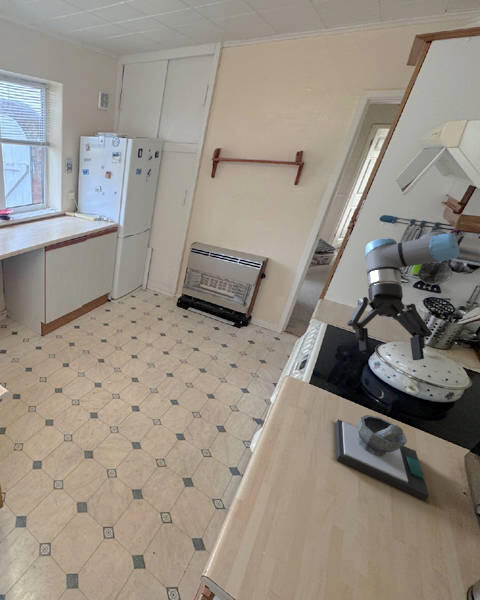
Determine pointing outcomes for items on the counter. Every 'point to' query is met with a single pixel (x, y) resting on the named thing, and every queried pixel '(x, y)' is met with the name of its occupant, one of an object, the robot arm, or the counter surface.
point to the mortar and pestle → (379, 435)
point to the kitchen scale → (381, 462)
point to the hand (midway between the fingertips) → (390, 355)
